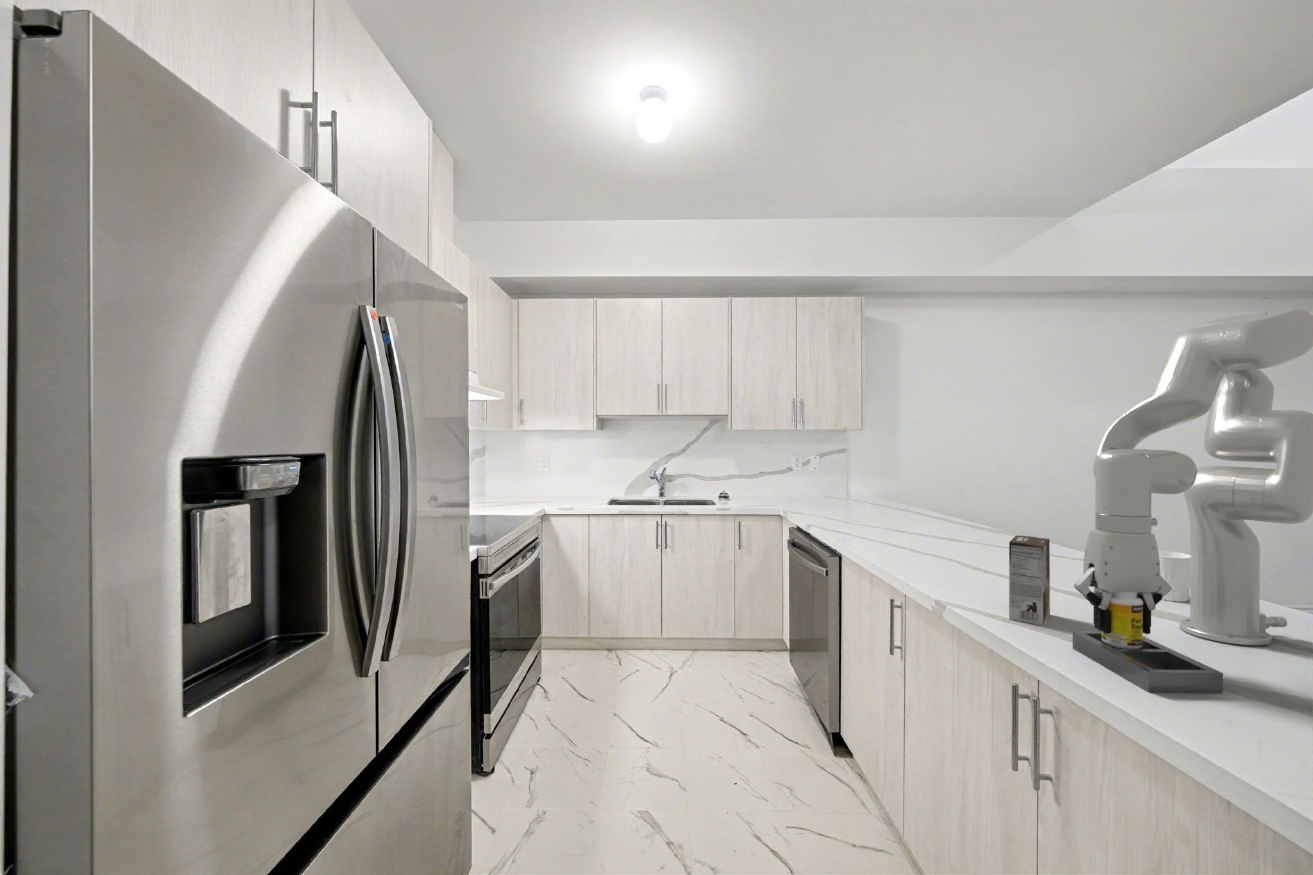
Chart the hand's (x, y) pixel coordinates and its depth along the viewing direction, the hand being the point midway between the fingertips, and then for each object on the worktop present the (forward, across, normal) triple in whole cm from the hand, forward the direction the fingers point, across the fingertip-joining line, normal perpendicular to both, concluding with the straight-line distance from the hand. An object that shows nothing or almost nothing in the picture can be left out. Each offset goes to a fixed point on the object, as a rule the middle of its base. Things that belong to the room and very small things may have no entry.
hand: (1121, 630), depth 103 cm
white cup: (+5, -36, -38) cm, 52 cm away
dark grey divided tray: (+5, 0, +4) cm, 6 cm away
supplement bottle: (+3, 0, 0) cm, 3 cm away
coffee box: (+5, +3, -23) cm, 24 cm away
